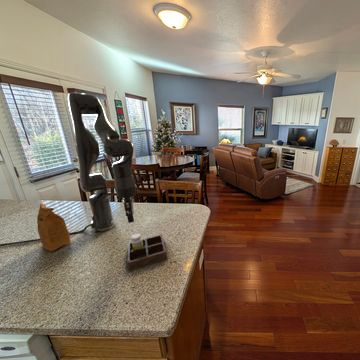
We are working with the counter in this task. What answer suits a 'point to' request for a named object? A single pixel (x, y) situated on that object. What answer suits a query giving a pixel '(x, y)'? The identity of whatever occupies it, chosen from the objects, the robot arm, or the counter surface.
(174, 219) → the counter surface
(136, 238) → the supplement bottle
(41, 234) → the coffee package
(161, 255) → the grid
